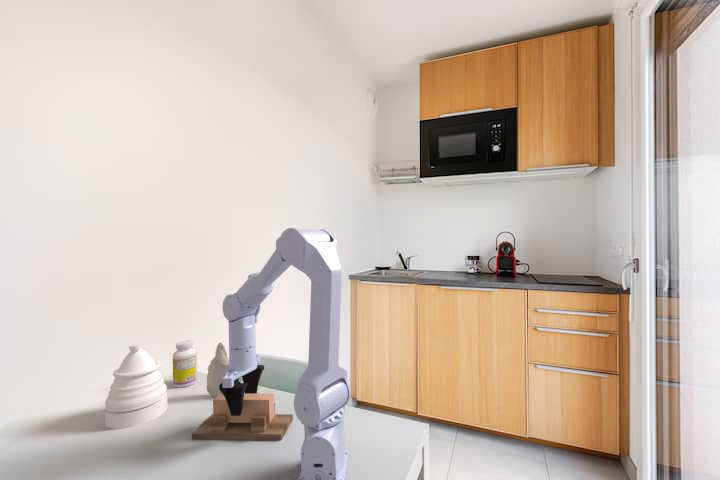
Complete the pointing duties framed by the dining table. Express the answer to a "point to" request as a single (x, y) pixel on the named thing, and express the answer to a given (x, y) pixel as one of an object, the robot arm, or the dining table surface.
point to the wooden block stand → (244, 428)
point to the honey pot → (136, 391)
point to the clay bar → (246, 407)
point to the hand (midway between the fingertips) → (244, 406)
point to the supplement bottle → (184, 364)
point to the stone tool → (217, 371)
